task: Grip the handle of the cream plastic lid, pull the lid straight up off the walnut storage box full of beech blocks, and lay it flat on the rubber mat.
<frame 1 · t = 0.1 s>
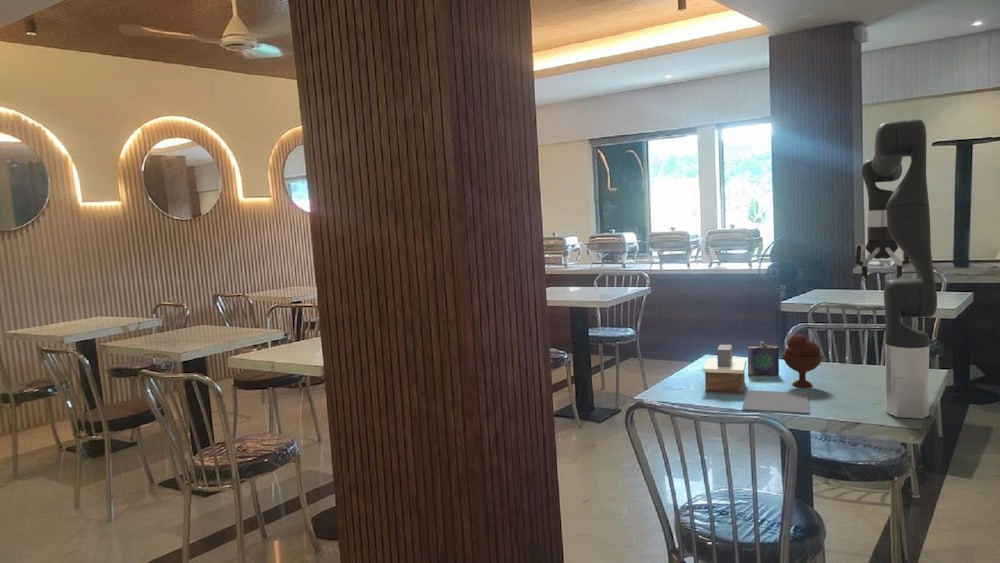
hand: (881, 278, 206), 29 cm above the table, tool pointing down, fingers open, 8 cm apart
storage box: (725, 387, 200), on the table
rubber mat: (775, 402, 182), on the table
lid: (725, 371, 200), point 5 cm above the table, touching storage box
ice cream bowl: (802, 386, 198), on the table
flask: (763, 375, 213), on the table
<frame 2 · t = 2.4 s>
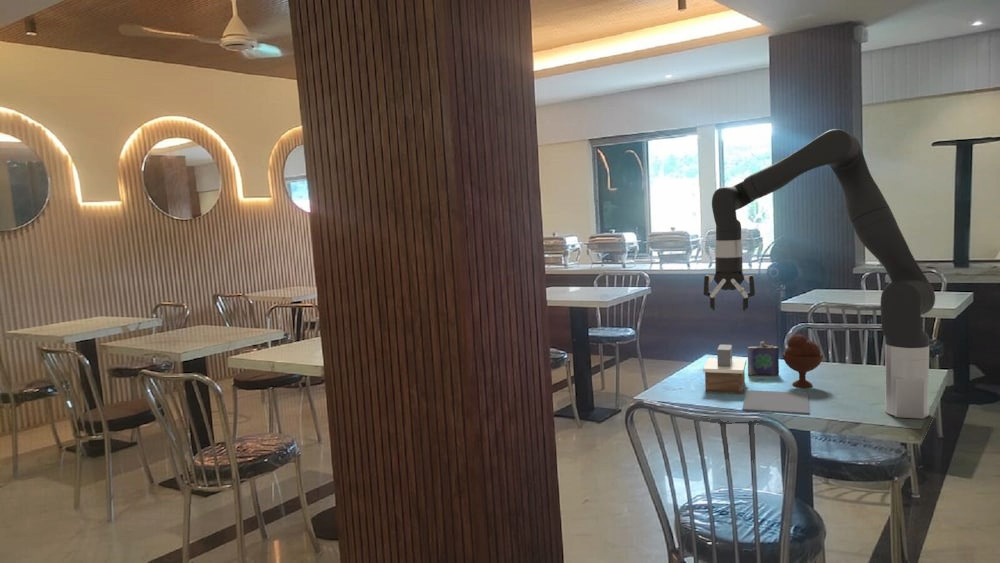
hand: (729, 310, 199), 23 cm above the table, tool pointing down, fingers open, 8 cm apart
nothing on the table moved.
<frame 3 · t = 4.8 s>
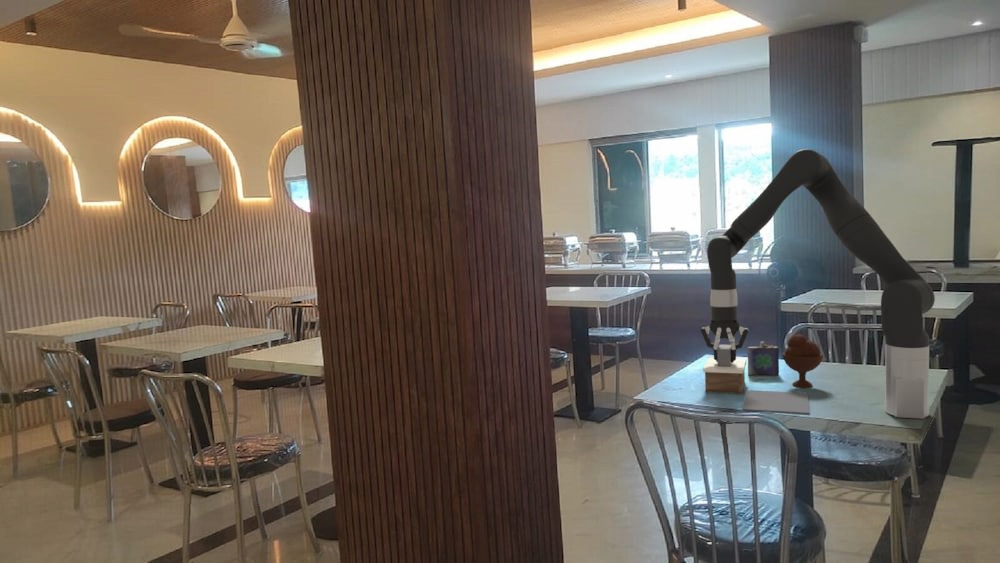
hand: (725, 361, 200), 8 cm above the table, tool pointing down, fingers closed on lid, 3 cm apart
lid: (725, 371, 200), point 5 cm above the table, touching gripper, storage box
everything else where it was.
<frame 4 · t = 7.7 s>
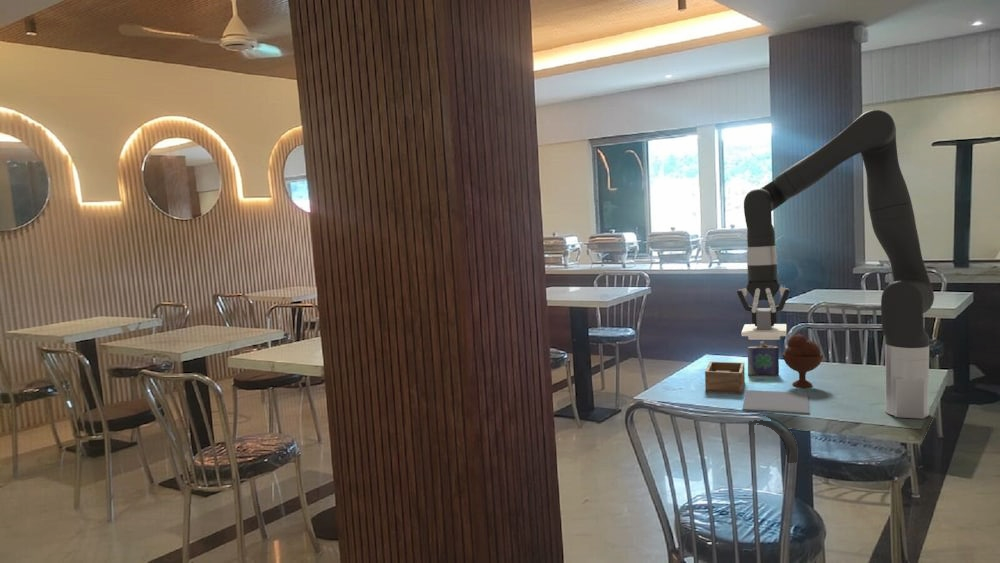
hand: (764, 325, 184), 20 cm above the table, tool pointing down, fingers closed on lid, 3 cm apart
lid: (764, 336, 184), point 17 cm above the table, touching gripper
everything else where it was.
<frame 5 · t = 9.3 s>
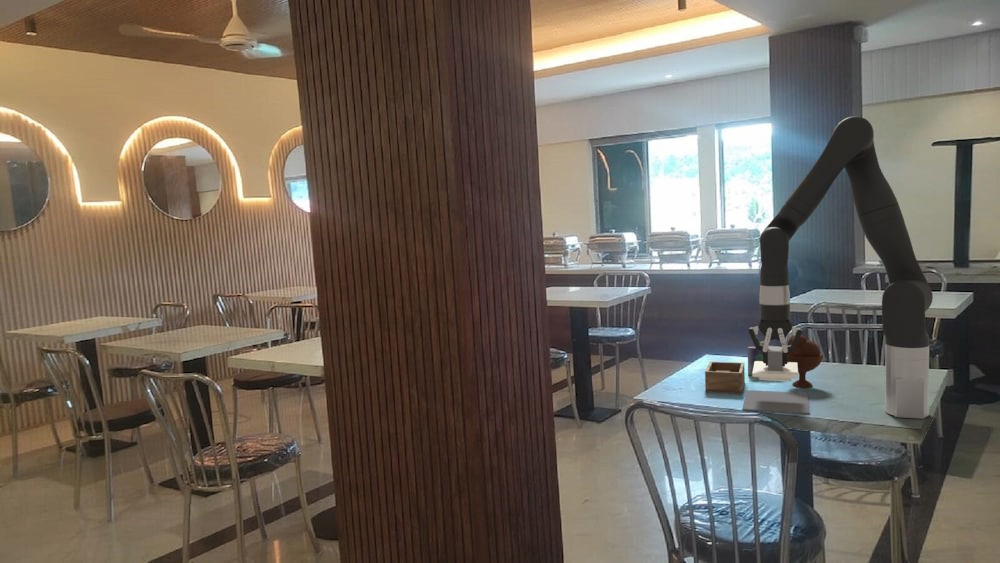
hand: (775, 365, 181), 10 cm above the table, tool pointing down, fingers closed on lid, 3 cm apart
lid: (775, 375, 182), point 7 cm above the table, touching gripper
everything else where it was.
when the fingers open (5 cm above the table, at t = 10.8 s): lid drops 1 cm, resting on rubber mat.
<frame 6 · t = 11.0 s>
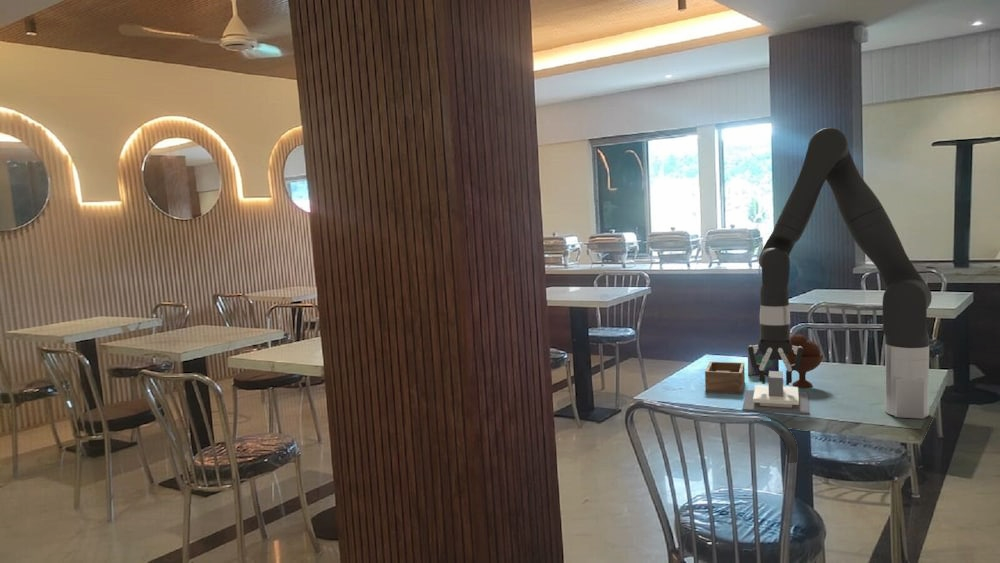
hand: (775, 383, 182), 5 cm above the table, tool pointing down, fingers open, 5 cm apart
lid: (776, 400, 182), resting on rubber mat
everything else where it was.
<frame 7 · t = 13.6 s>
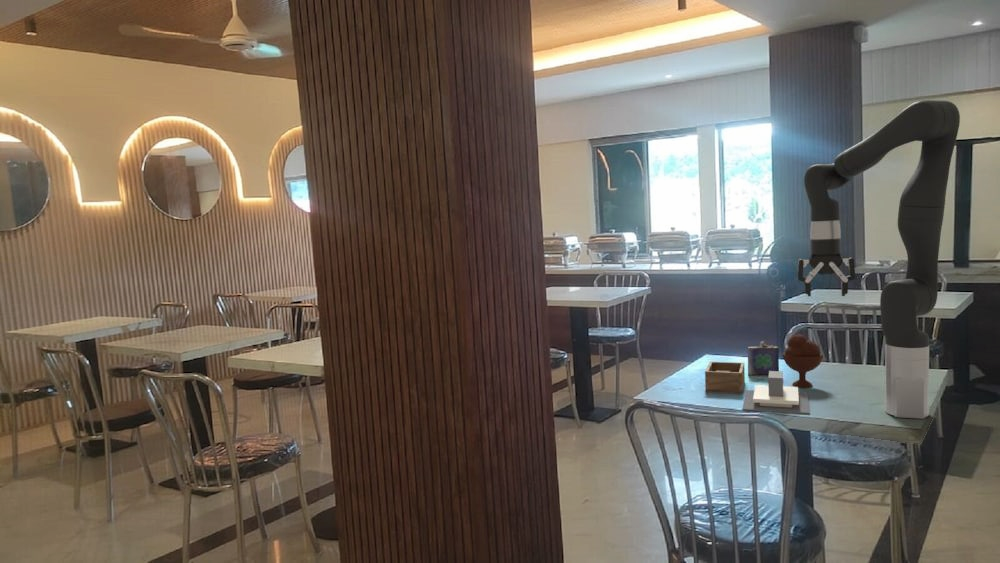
hand: (826, 295, 187), 27 cm above the table, tool pointing down, fingers open, 8 cm apart
nothing on the table moved.
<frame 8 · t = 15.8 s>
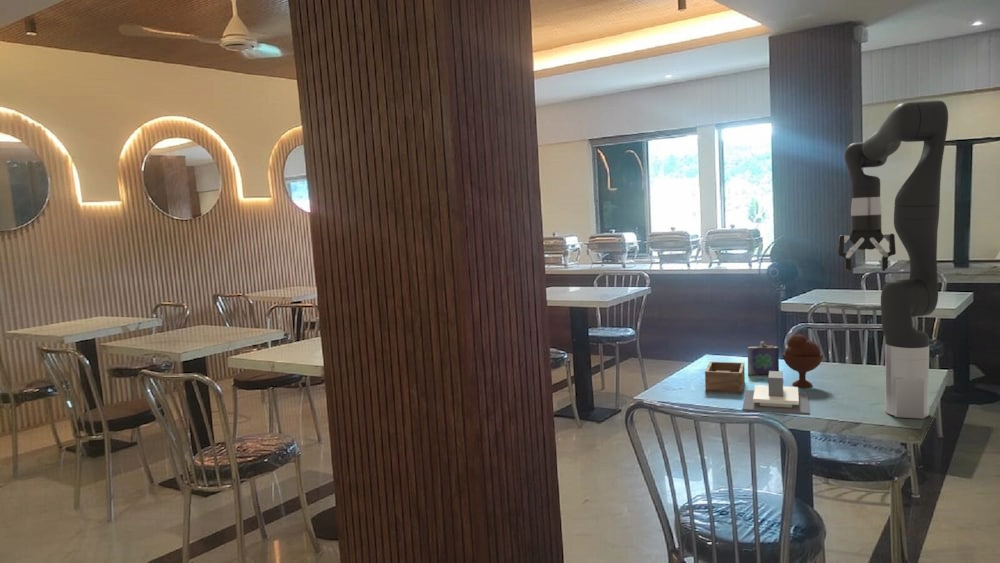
hand: (866, 270, 192), 33 cm above the table, tool pointing down, fingers open, 8 cm apart
nothing on the table moved.
at the end: lid inside the target area (0.1 cm from its centre), resting on rubber mat; lid tilted 0°; lid touching rubber mat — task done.
